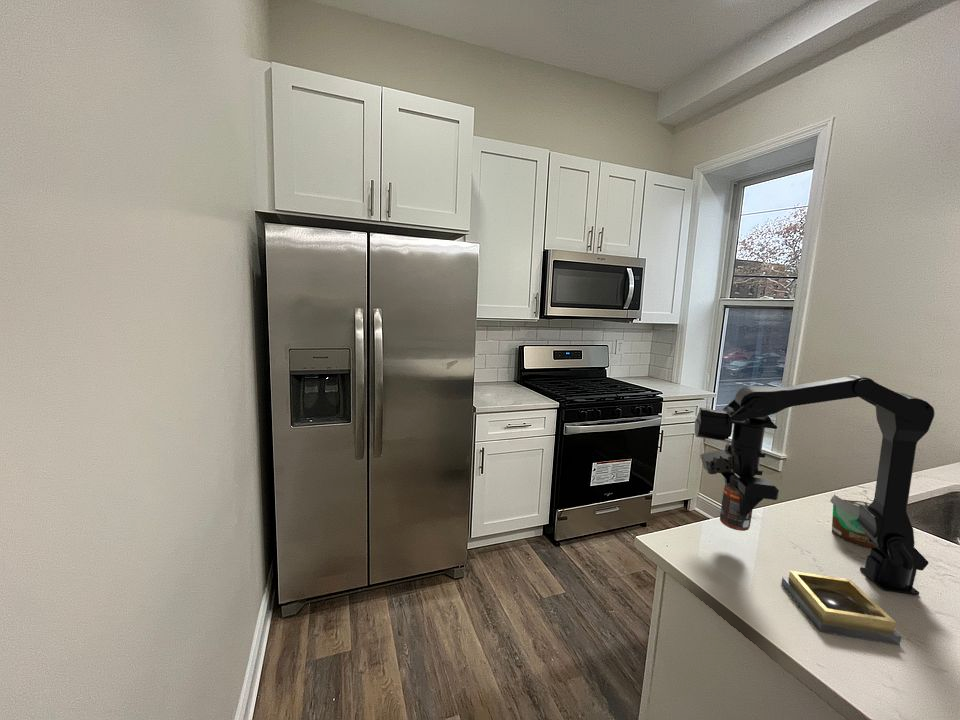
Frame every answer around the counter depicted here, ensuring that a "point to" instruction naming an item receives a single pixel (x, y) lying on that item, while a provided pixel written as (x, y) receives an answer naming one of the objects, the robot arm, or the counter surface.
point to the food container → (848, 522)
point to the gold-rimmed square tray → (840, 607)
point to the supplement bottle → (733, 508)
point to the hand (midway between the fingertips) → (736, 508)
